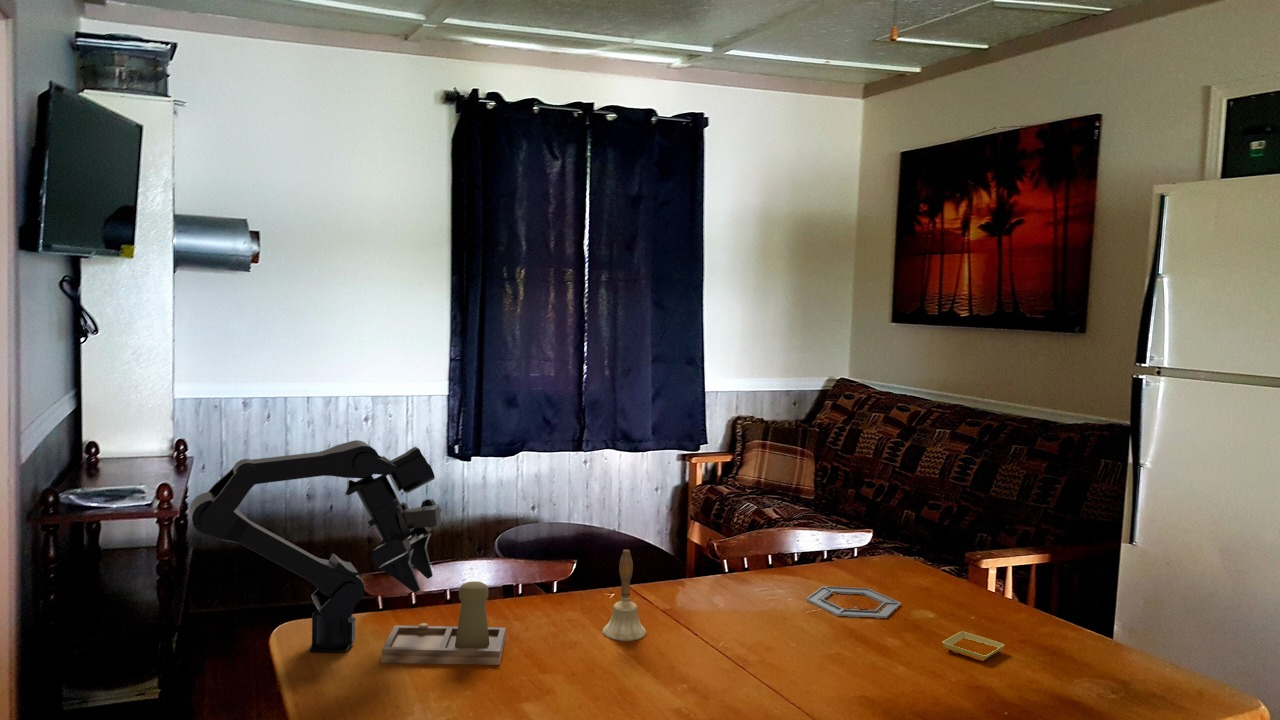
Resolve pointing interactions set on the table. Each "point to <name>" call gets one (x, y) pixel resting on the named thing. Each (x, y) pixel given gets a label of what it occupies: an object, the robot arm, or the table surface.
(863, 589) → the grey hexagonal frame
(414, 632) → the divided tray
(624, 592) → the hand bell
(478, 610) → the olive pepper mill
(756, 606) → the table surface
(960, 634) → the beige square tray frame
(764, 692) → the table surface
